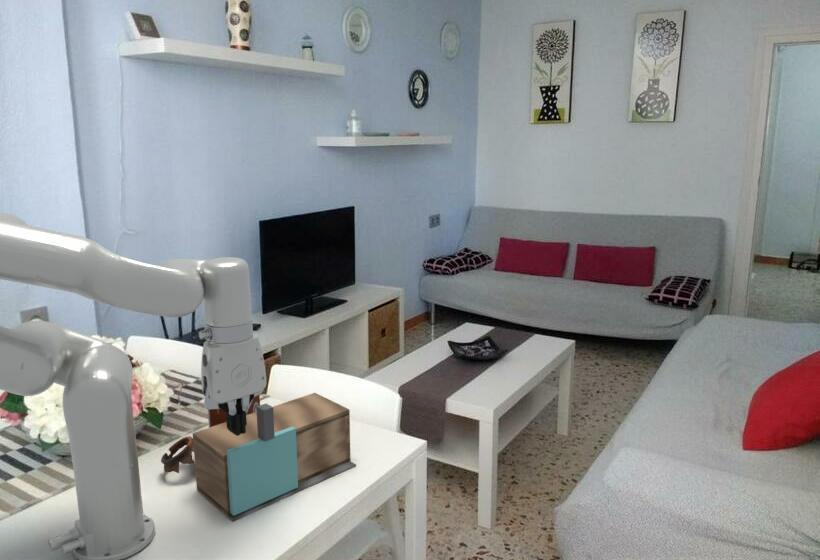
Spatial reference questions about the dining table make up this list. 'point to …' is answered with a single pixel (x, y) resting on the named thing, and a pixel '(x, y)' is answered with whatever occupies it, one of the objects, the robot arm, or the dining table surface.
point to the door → (262, 465)
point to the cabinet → (311, 416)
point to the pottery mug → (178, 455)
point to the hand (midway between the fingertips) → (237, 431)
